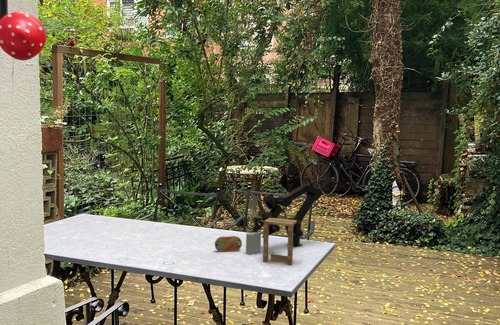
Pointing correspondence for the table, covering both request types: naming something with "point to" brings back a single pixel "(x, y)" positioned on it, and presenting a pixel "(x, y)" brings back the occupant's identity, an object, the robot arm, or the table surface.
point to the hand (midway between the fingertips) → (257, 235)
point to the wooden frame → (290, 240)
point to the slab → (253, 243)
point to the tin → (228, 244)
